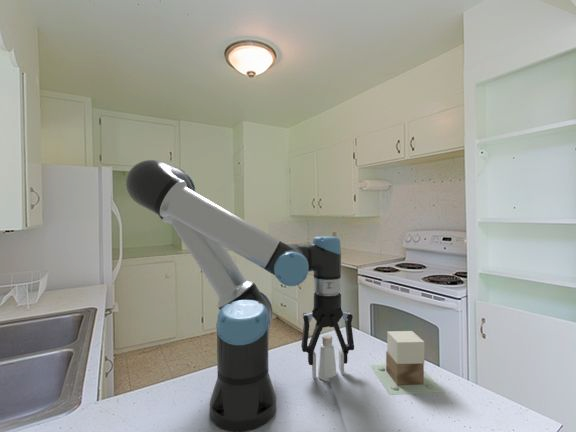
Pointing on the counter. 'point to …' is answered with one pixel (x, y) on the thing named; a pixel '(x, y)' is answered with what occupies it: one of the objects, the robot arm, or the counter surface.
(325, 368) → the pepper shaker
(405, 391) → the base plate
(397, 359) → the brick
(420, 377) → the brick
